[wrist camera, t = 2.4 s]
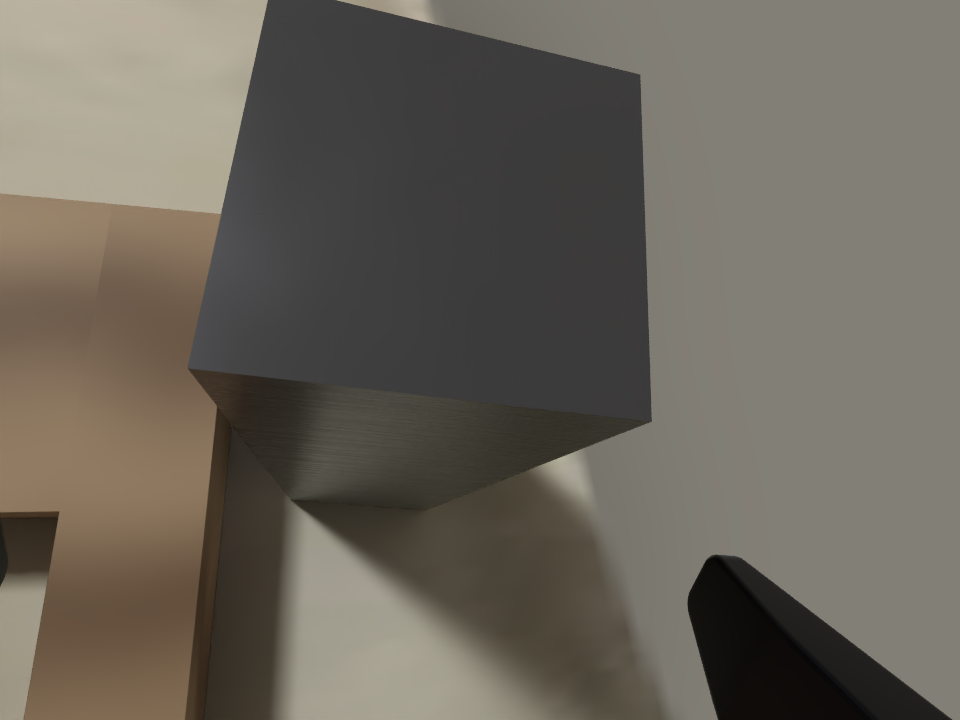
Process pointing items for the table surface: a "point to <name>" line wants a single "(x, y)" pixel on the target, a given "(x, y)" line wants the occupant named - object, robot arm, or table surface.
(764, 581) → the robot arm
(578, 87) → the dark grey square post
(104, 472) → the post foot
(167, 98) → the table surface
